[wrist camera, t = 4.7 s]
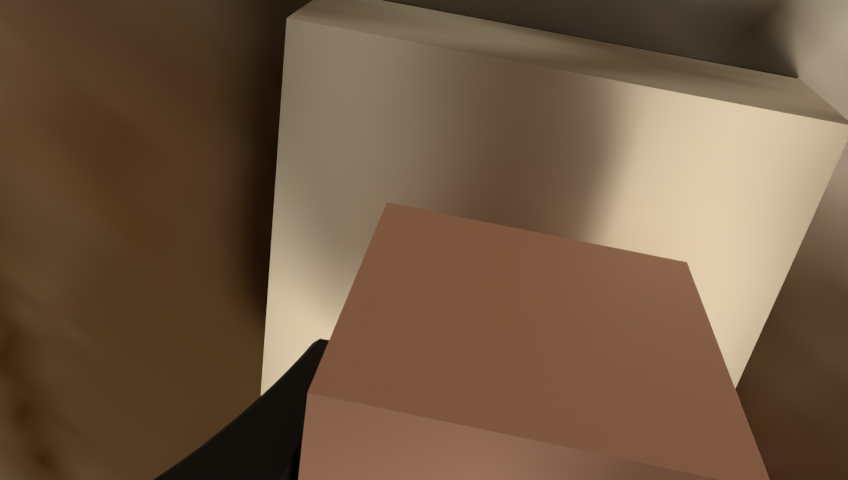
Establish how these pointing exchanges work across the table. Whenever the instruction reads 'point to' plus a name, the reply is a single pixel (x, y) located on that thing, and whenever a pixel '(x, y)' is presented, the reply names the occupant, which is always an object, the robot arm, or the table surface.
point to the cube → (520, 364)
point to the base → (534, 157)
